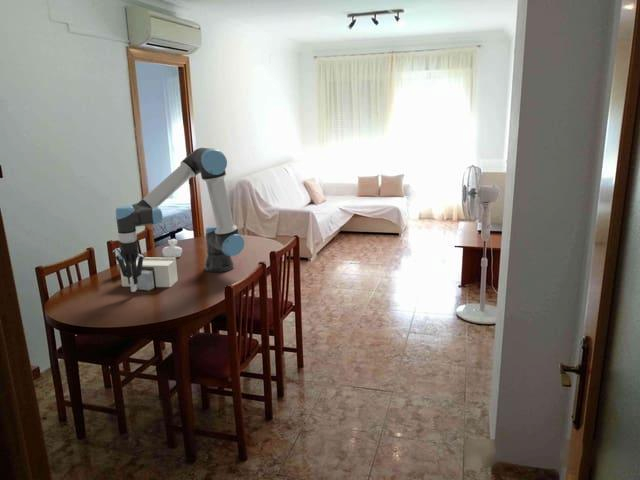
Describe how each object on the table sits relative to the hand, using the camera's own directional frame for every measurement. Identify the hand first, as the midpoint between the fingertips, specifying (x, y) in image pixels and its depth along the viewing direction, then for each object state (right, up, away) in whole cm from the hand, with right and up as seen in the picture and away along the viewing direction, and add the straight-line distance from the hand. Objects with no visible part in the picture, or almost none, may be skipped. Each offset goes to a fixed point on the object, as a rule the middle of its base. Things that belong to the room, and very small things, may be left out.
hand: (134, 290), depth 229 cm
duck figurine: (0, +13, +63) cm, 64 cm away
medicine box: (+2, 0, +10) cm, 10 cm away
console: (+2, +2, +17) cm, 17 cm away
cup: (-16, +5, +31) cm, 35 cm away
